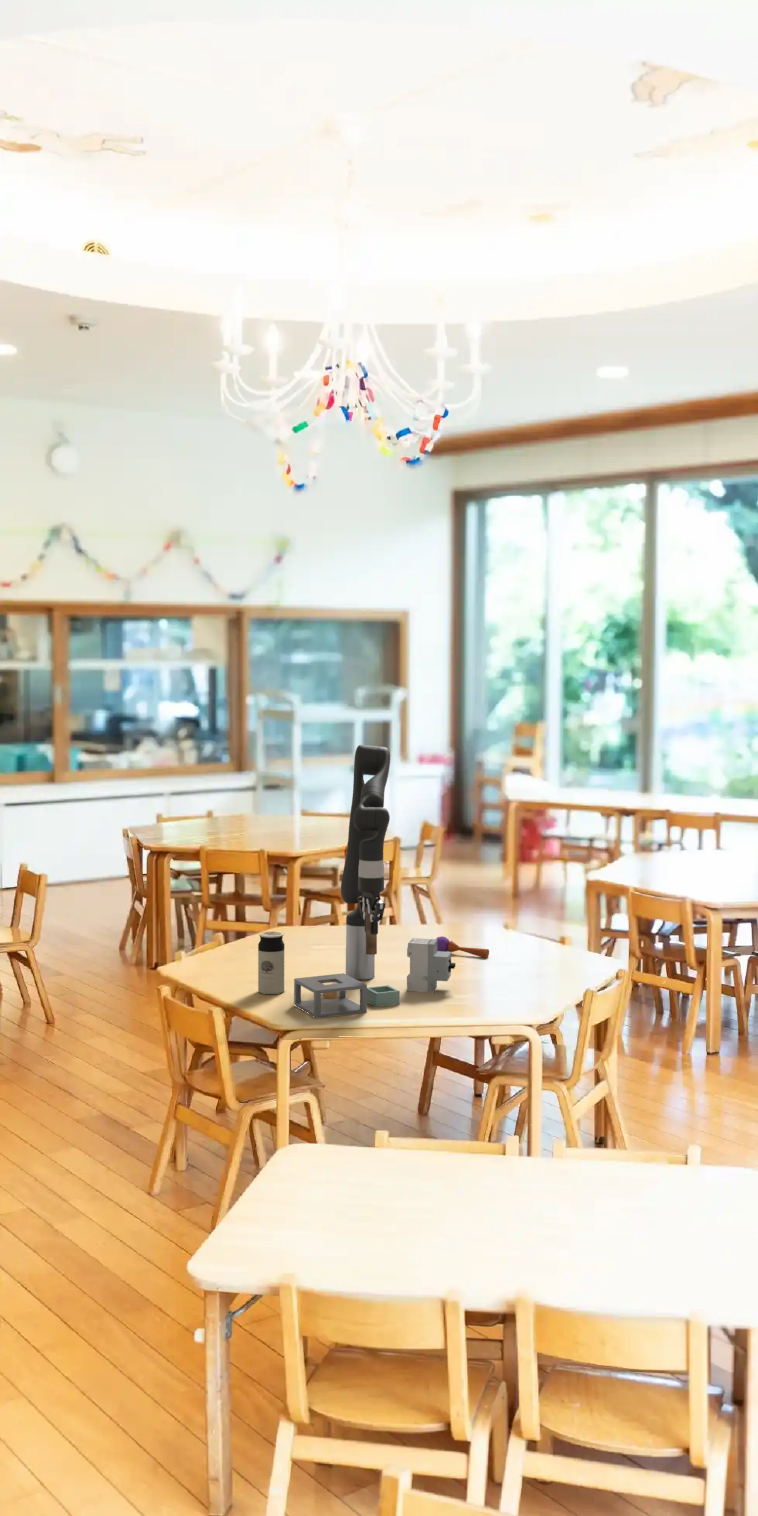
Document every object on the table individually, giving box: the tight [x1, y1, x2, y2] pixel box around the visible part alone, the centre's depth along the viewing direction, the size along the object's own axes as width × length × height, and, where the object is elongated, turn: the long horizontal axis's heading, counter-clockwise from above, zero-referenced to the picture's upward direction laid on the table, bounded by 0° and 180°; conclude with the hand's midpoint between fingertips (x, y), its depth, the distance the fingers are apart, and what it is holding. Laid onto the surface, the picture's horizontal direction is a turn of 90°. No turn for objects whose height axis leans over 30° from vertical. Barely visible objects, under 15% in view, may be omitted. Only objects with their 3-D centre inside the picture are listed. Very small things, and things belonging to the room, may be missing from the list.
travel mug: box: [257, 930, 285, 995], centre depth 416 cm, size 8×8×18 cm
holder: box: [367, 984, 401, 1008], centre depth 404 cm, size 8×8×4 cm
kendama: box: [435, 935, 490, 959], centre depth 469 cm, size 6×6×20 cm
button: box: [322, 992, 339, 1000], centre depth 396 cm, size 4×4×3 cm
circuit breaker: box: [406, 937, 456, 993], centre depth 420 cm, size 8×14×15 cm, turn 78°
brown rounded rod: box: [366, 906, 378, 955], centre depth 400 cm, size 3×3×14 cm
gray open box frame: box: [293, 972, 368, 1019], centre depth 396 cm, size 16×16×8 cm
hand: (371, 932), depth 400 cm, fingers closed on brown rounded rod, 3 cm apart
